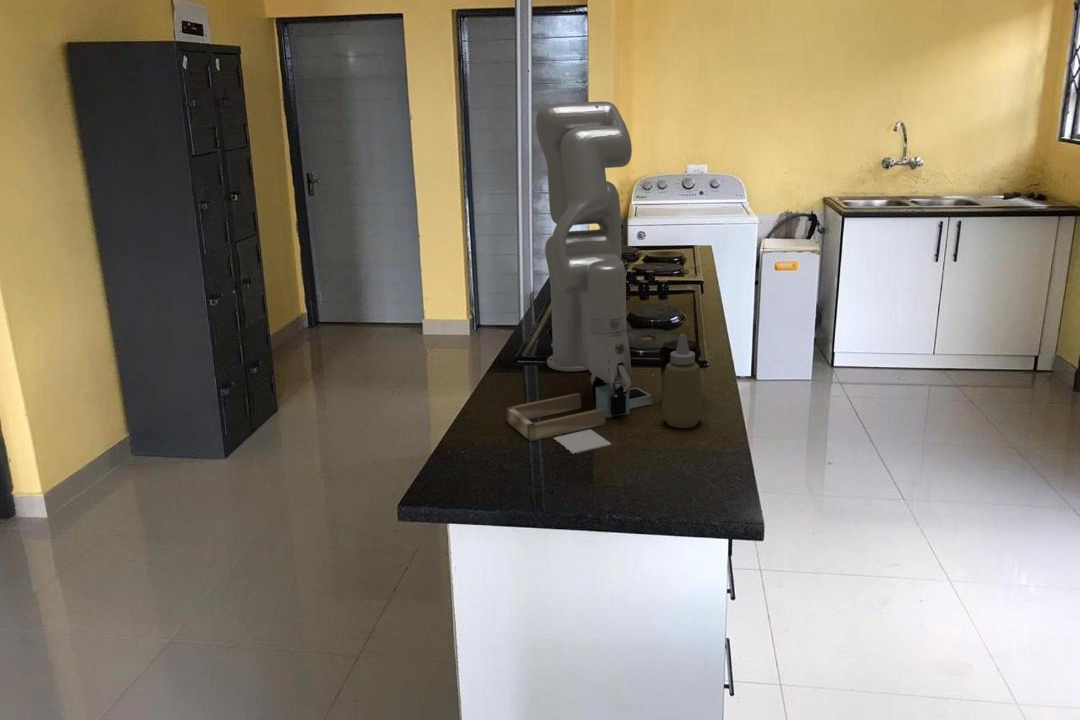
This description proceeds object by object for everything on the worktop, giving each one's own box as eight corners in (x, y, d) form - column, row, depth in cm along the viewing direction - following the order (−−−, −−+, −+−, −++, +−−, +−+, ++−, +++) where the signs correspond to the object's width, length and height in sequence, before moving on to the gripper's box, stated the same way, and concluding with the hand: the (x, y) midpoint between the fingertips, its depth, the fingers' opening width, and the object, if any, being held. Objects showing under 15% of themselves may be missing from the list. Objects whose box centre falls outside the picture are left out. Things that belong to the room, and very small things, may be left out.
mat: (553, 439, 164) (553, 437, 164) (590, 430, 167) (590, 429, 167) (572, 454, 157) (572, 452, 157) (611, 445, 161) (611, 443, 160)
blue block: (596, 410, 178) (595, 387, 176) (617, 405, 180) (617, 383, 178) (607, 418, 174) (606, 394, 172) (629, 413, 175) (629, 390, 174)
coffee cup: (699, 412, 174) (700, 350, 170) (657, 411, 176) (657, 349, 172) (700, 397, 182) (701, 337, 178) (660, 395, 184) (660, 337, 180)
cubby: (506, 421, 174) (506, 407, 173) (578, 406, 180) (577, 392, 179) (530, 441, 164) (529, 426, 163) (605, 424, 170) (605, 410, 169)
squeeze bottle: (653, 420, 171) (653, 333, 165) (688, 412, 174) (689, 326, 168) (675, 434, 164) (675, 343, 158) (711, 426, 167) (713, 337, 161)
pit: (612, 401, 182) (612, 392, 181) (637, 396, 184) (637, 387, 184) (627, 410, 177) (627, 401, 176) (652, 404, 179) (652, 395, 179)
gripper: (646, 331, 165) (647, 418, 170) (602, 312, 180) (603, 392, 185) (612, 337, 162) (614, 425, 167) (570, 317, 177) (572, 398, 182)
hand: (608, 407), depth 176 cm, fingers open, 7 cm apart
